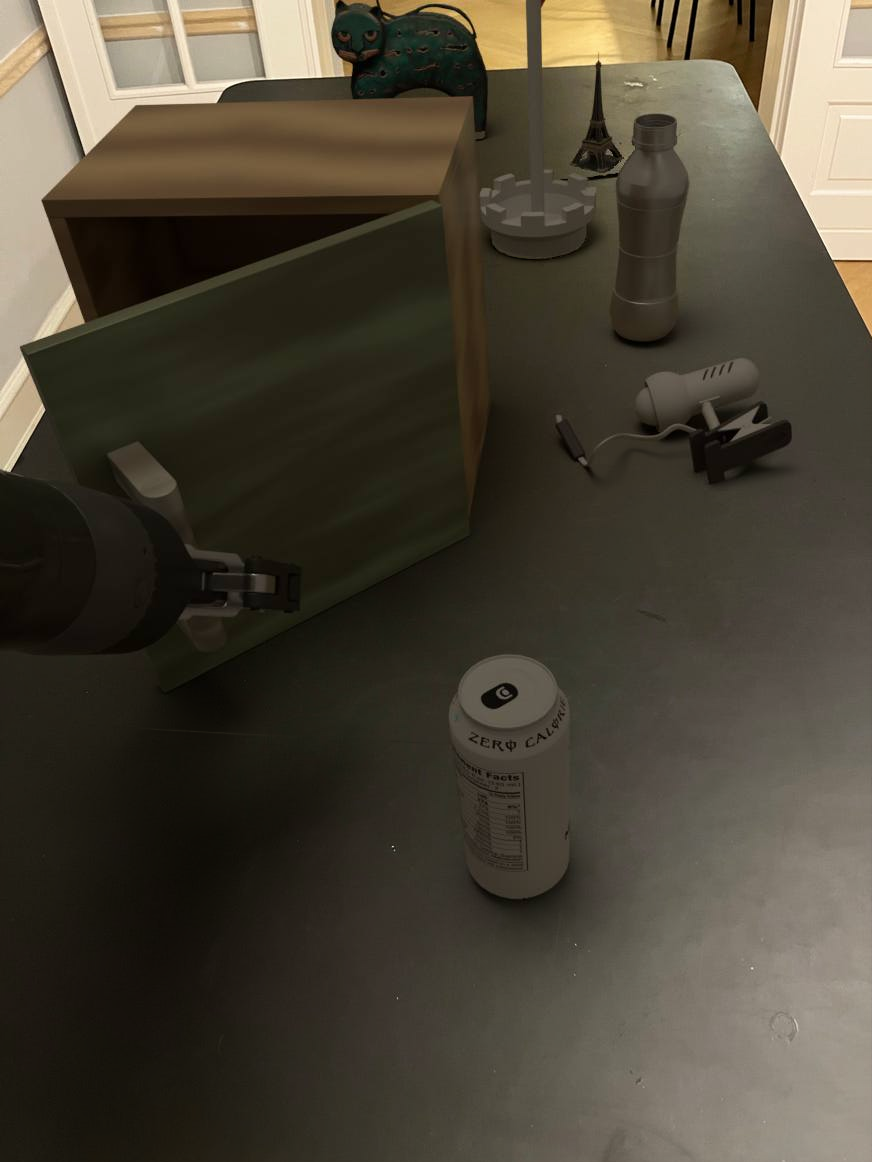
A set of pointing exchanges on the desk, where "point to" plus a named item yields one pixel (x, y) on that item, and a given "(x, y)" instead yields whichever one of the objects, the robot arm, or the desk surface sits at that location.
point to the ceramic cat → (410, 54)
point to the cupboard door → (277, 419)
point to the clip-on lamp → (702, 392)
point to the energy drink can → (513, 774)
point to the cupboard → (274, 204)
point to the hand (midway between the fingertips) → (210, 589)
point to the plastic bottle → (649, 231)
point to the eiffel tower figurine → (597, 137)
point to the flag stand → (537, 182)
